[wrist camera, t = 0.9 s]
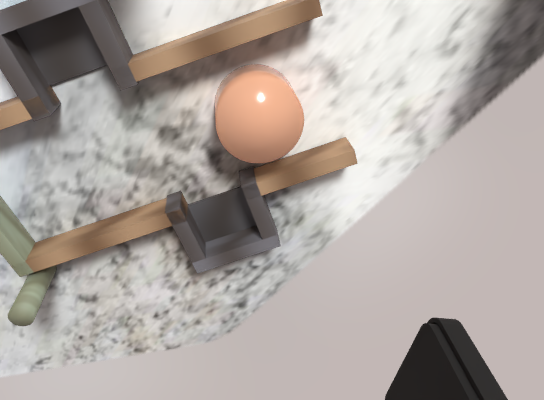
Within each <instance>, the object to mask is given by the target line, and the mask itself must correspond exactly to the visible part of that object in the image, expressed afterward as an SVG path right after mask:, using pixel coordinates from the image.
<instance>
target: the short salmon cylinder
mask: <svg viewBox="0 0 544 400" xmlns="http://www.w3.org/2000/svg"><path fill="white" fill-rule="evenodd" d="M215 117H216V130H217V134H218V137H219V139H220V141H221V143H222V145H223V146H224V148H225V149H226V150H227V151H228V152H229V153H230V154H232V155H233V156H235V157H236V158H238V159H240V160H243V161H246V162H250V163H267V162H271V161H274V160H277V159H279V158H281V157H283V156H284V155H286V154H287V153H288V152H289V151H290V150H292V148H293V147H294V146H295V145H296V143H297V142H298V140H299V138H300V136H301V134H302V131H303V126H304V114H303V109H302V106H301V104H300V102H299V100H298V98H297V96H296V94H295V93H294V91H293V89H292V87H291V85H290V84H289V82H288V81H287V79H286V78H285V77H284V76H283V75H282V74H281V73H280V72H279V71H277V70H275V69H274V68H271V67H269V66H265V65H260V64H251V65H246V66H242V67H240V68H237V69H236V70H234V71H232V72H231V73H230V74H228V75H227V76H226V77H225V78H224V80H223V81H222V82H221V84H220V86H219V88H218V90H217V93H216V97H215Z"/></svg>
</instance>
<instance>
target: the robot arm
mask: <svg viewBox="0 0 544 400" xmlns="http://www.w3.org/2000/svg"><path fill="white" fill-rule="evenodd" d="M385 400H508V399H507V398H506V396H505V394H504V393H503V391H502V390H501V388H500V386H499V384H498V383H497V381H496V379H495V378H494V376H493V375H492V373H491V371H490V370H489V368H488V366H487V365H486V363H485V361H484V360H483V358H482V357H481V355H480V353H479V352H478V350H477V348H476V347H475V345H474V344H473V342H472V340H471V339H470V337H469V336H468V334H467V332H466V330H465V329H464V327H463V326H462V324H461V323H460V322H459V321H458V320H456V319H444V318H431V319H430V320H429V321H428V322H427V323H425V324H423V325H422V326H421V328H420V330H419V332H418V334H417V336H416V338H415V340H414V341H413V344H412V345H411V348H410V349H409V351H408V353H407V355H406V357H405V359H404V361H403V363H402V365H401V367H400V368H399V370H398V372H397V374H396V376H395V378H394V380H393V382H392V384H391V386H390V388H389V390H388V392H387V394H386V396H385Z"/></svg>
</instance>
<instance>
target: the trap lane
mask: <svg viewBox="0 0 544 400" xmlns="http://www.w3.org/2000/svg"><path fill="white" fill-rule="evenodd" d="M320 16H323V15H322V11H321V7H320V2H319V0H286V1H283V2H280V3H277V4H275V5H272V6H269V7H266V8H263V9H261V10H258V11H255V12H252V13H249V14H247V15H244V16H241V17H238V18H236V19H233V20H230V21H227V22H224V23H222V24H219V25H216V26H213V27H210V28H208V29H205V30H202V31H199V32H196V33H194V34H191V35H188V36H185V37H183V38H180V39H177V40H174V41H171V42H169V43H166V44H163V45H160V46H157V47H155V48H152V49H149V50H146V51H143V52H141V53H138V54H135V55H133V54H132V51H131V49H130V47H129V45H128V43H127V41H126V39H125V37H124V34H123V32H122V30H121V28H120V26H119V24H118V22H117V20H116V17H115V15H114V13H113V11H112V9H111V7H110V5H109V3H108V0H27V1H24V2H21V3H19V4H16V5H13V6H10V7H8V8H5V9H2V10H0V69H1V70H2V72H3V74H4V75H5V77H6V78H7V80H8V81H9V83H10V85H11V86H12V88H13V89H14V91H15V92H16V94H17V96H18V97H15V98H12V99H10V100H7V101H4V102H1V103H0V130H2V129H5V128H7V127H10V126H13V125H16V124H19V123H21V122H24V121H27V120H30V119H33V121H36V120H39V119H42V118H45V117H48V116H50V115H51V114H52V113H53V112H54V111H55V110H56V109H57V107H58V106H59V105H60V104H61V103H60V101H59V99H58V98H57V96H56V94H55V92H54V91H53V89H52V87H51V86H50V85H53V84H56V83H58V82H61V81H64V80H67V79H70V78H72V77H75V76H78V75H81V74H84V73H86V72H89V71H92V70H95V69H98V68H100V67H103V66H106V65H108V67H109V69H110V71H111V72H112V74H113V76H114V78H115V80H116V82H117V84H118V86H119V88H120V90H124V89H127V88H129V87H132V86H135V85H138V83H139V81H140V80H142V79H145V78H148V77H151V76H154V75H157V74H159V73H162V72H165V71H168V70H171V69H173V68H176V67H179V66H182V65H185V64H188V63H190V62H193V61H196V60H199V59H202V58H204V57H207V56H210V55H213V54H216V53H218V52H221V51H224V50H227V49H230V48H233V47H235V46H238V45H241V44H244V43H247V42H249V41H252V40H255V39H258V38H261V37H264V36H266V35H269V34H272V33H275V32H278V31H280V30H283V29H286V28H289V27H292V26H294V25H297V24H300V23H303V22H306V21H309V20H311V19H314V18H317V17H320ZM354 164H357V159H356V155H355V151H354V149H353V147H352V146H351V144H350V143H349V141H348V140H347V139H346V137H345V138H342V139H339V140H336V141H333V142H330V143H327V144H324V145H321V146H318V147H315V148H313V149H310V150H307V151H304V152H301V153H298V154H295V155H292V156H289V157H286V158H283V159H280V160H277V161H274V162H271V163H268V164H265V165H263V166H260V167H257V168H253V167H250V168H247V169H244V170H241V171H239V176H240V183H241V187H238V188H235V189H232V190H229V191H227V192H224V193H221V194H218V195H215V196H212V197H209V198H206V199H203V200H200V201H197V202H194V203H191V204H187V202H186V200H185V198H184V196H183V194H182V192H181V191H179V192H176V193H173V194H170V195H167V198H165V199H163V200H160V201H157V202H154V203H151V204H148V205H145V206H142V207H139V208H136V209H133V210H130V211H127V212H124V213H121V214H118V215H116V216H113V217H110V218H107V219H104V220H101V221H98V222H95V223H92V224H89V225H86V226H83V227H80V228H77V229H74V230H71V231H68V232H66V233H63V234H60V235H57V236H54V237H51V238H48V239H45V240H42V241H39V242H36V243H35V241H34V240H33V239H32V237H31V236H30V235H29V233H28V232H27V231H26V229H25V228H24V227H23V225H22V224H21V223H20V221H19V220H18V219H17V217H16V216H15V215H14V213H13V212H12V211H11V209H10V208H9V207H8V205H7V204H6V203H5V201H4V200H3V199H2V197H1V196H0V253H1V254H2V256H3V257H4V258H5V259H6V260H7V262H8V263H9V264H10V265H11V267H12V268H13V269H14V270H15V271H16V273H17V274H18V275H19V276H20V277H22V276H25V275H28V274H29V275H28V277H27V279H26V281H25V283H24V285H23V287H22V289H21V290H20V292H19V294H18V296H17V298H16V300H15V302H14V304H13V306H12V308H11V310H10V312H9V313H8V319H9V320H10V322H12V323H13V324H15V325H18V326H27V325H30V324H31V323H33V321H34V319H35V317H36V314H37V312H38V310H39V308H40V305H41V303H42V301H43V299H44V296H45V294H46V292H47V290H48V288H49V285H50V283H51V281H52V279H53V276H54V274H55V272H56V269H57V266H56V265H57V264H60V263H63V262H66V261H69V260H72V259H75V258H78V257H81V256H84V255H87V254H90V253H93V252H96V251H99V250H102V249H105V248H108V247H111V246H114V245H117V244H120V243H123V242H126V241H129V240H132V239H134V238H137V237H140V236H143V235H146V234H149V233H152V232H155V231H158V230H161V229H164V228H167V227H170V226H173V228H174V230H175V232H176V234H177V236H178V238H179V239H180V241H181V243H182V245H183V247H184V249H185V251H186V253H187V254H188V256H189V258H190V260H191V262H192V264H193V266H194V268H195V270H196V271H197V273H201V272H204V271H207V270H210V269H213V268H216V267H219V266H222V265H225V264H228V263H231V262H234V261H237V260H240V259H243V258H246V257H249V256H252V255H255V254H258V253H261V252H264V251H267V250H270V249H273V248H276V247H279V246H281V245H280V241H279V237H278V233H277V229H276V226H275V223H274V221H273V218H272V216H271V213H270V210H269V208H268V205H267V202H266V200H265V197H264V195H265V194H268V193H271V192H274V191H277V190H280V189H283V188H286V187H289V186H292V185H295V184H298V183H301V182H304V181H307V180H310V179H313V178H316V177H319V176H322V175H325V174H328V173H331V172H334V171H337V170H339V169H342V168H345V167H348V166H351V165H354Z"/></svg>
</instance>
